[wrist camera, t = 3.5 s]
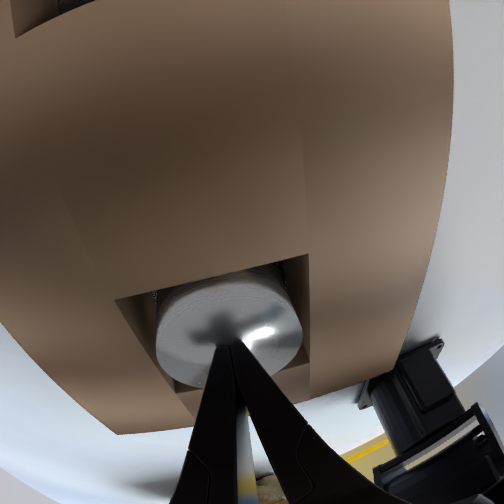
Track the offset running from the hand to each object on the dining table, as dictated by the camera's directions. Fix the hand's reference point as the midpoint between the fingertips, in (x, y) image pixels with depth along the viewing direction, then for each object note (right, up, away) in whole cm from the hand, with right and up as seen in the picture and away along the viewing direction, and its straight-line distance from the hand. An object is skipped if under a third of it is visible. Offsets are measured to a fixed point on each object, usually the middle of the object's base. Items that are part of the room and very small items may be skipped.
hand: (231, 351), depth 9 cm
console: (-2, +7, -1) cm, 7 cm away
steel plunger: (-1, +2, +2) cm, 3 cm away
